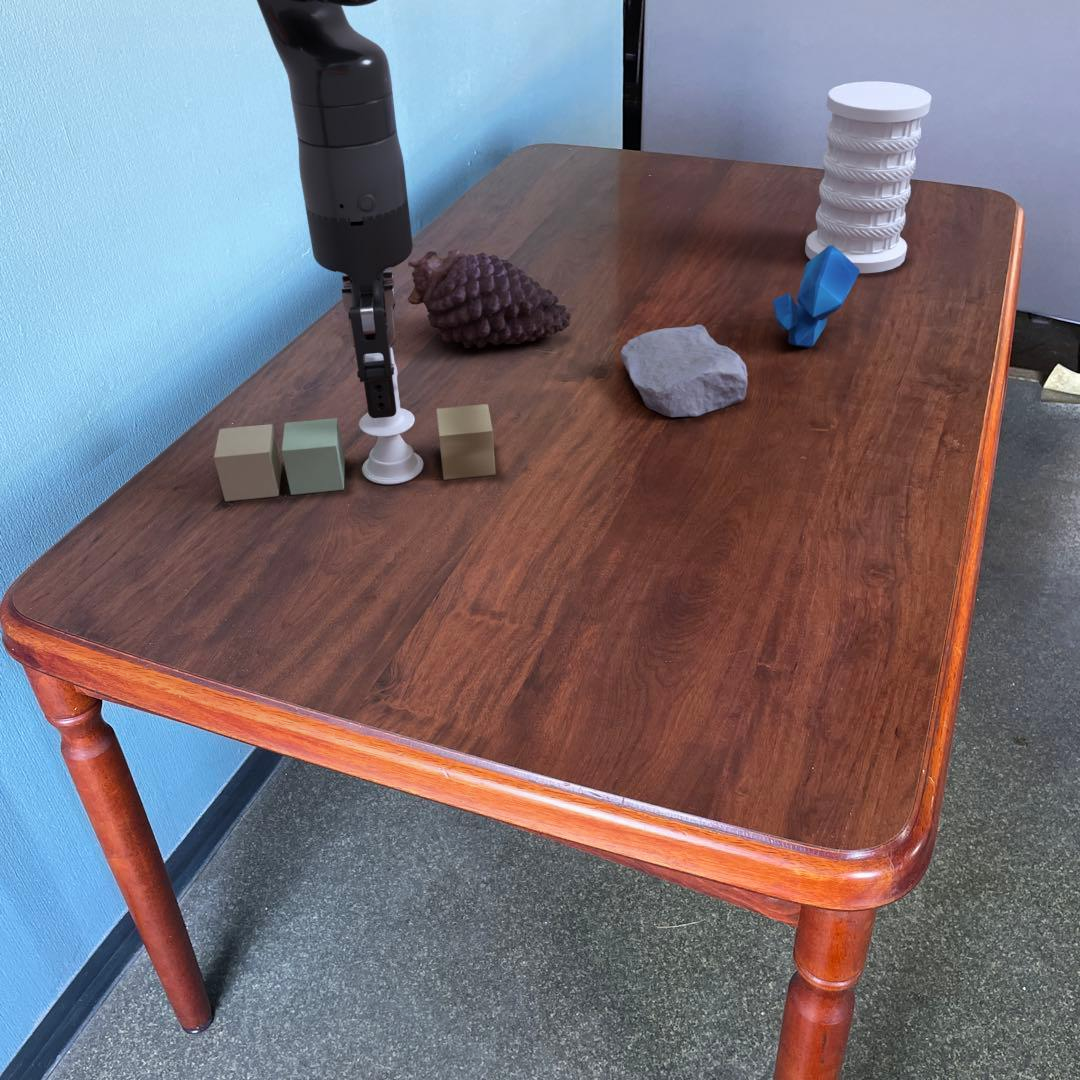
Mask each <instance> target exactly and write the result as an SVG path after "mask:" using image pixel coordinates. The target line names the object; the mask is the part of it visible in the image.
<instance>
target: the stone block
mask: <svg viewBox="0 0 1080 1080" xmlns="http://www.w3.org/2000/svg"><path fill="white" fill-rule="evenodd" d="M620 360H621V361H622V363H623V364H624V366H625V369H626V372H627V373H628V374H629V378H630V380H631V381H632V383H633V385H634V387H635V388H636V389H637V390H638V392H639V394H640V396H641V398H642V401H643V404H644V406H645V407H647V409H649V410H652V411H654V412H657V413H658V414H660V415H662V416H665V417H670V418H677V417H678V418H679V417H682V418H683V417H685V418H686V417H700V416H702V415H705V414H707V413H711V412H712V411H716V410H719V409H723V408H727V407H730V406H732V405H734V404H735V405H736V404H738V403H741V402H743V401H744V400H745V399H746V396H747V388H748V385H749V384H748V376H749V373H748V371H747V365H746V363H745V362H744V360H742V357H741V356H740V354H738V353H737V352H736V351H734V350H732V349H731V348H729V347H728V346H727V345H721V344H718V342H716V341H715V340H714V339H713V338H712V337H711V336H710V335H709V333H708V330H707V329H706V327H705V326H704V325H702V324H695V325H691V326H686V327H679V326H678V327H677V326H676V327H671V328H669V327H665V328H661V329H654V330H652V331H646V332H644V333H642V334H640V335H638V336H635V337H634V338H632V339H628V341H627V343H626V344H624V345H623V346H622V347H621V351H620Z"/></svg>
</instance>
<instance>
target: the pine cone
mask: <svg viewBox="0 0 1080 1080" xmlns="http://www.w3.org/2000/svg"><path fill="white" fill-rule="evenodd" d="M438 256H439V255H438V253H437V251H433V250H430V251H427V252H426V253H425V254H424V255H423V256H422V257H421V258H420V259H418V260H410V261H408V262H407V266H408V267H412V268H413V271H412V273H411V276H412V278H413V280H412V282H413V283H414V287H413V289H412V291H411V293H410V294H409V296H408V297H407V301H408V303H409V304H411V305H416V306H417V305H421V304H424V306H425V308H426V311H427V313H428V314H427V319H428V320H429V324H430V326H431V327H432V328H434V329H437V333H438V335H440V336H441V338H442V341H443V342H446V343H453V342H455V343H456V344H463V346H464V348H469V349H470V348H472V347H473V346H476V347H477V348H479V349H481V348H484V347H485V346H486V345H487V344H488V342H489V343H491V344H492V345H494V346H497V345H501V344H506V345H511V344H513V345H516V346H517V345H519V344H521V343H525V342H535V341H536V340H537V339H544V338H546V337H547V336H553V335H556V334H557V333H559V332H563V331H564V330H566V328H567V327H570V324H571V322H570V321H571V318H572V315H571V313H569V312H566V311H567V307H566V305H562V304H558V303H559V298H558V296H557V295H556V294H554V293H553V292H552V290H551V289H545V288H543V287H541V285H540V283H539V282H538V281H535V279H534V278H532V277H530V276H528V275H527V274H526V273H525V271H524V270H523V269H521V268H518V267H517V266H515V265H514V264H513V263H511V262H510V261H509V259H502V258H500V257H499V256H498V255H496V254H492V255H488V254H487V253H485V252H480V253H478V254H472V253H468V254H467V255H466V254H464V253H463V252H461V251H460V250H458V249H452V250H451V249H450V250H449V251H447V257H445V258H441V257H438Z"/></svg>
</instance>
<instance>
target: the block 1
mask: <svg viewBox="0 0 1080 1080" xmlns="http://www.w3.org/2000/svg"><path fill="white" fill-rule="evenodd" d="M213 454H214V455H213V459H214V464H215V467H216V471H217V475H218V479H219V483H220V488H221V491H222V494H223V499H224V501H225V502H232V501H233V502H234V501H235V502H236V501H243V500H255V499H264V498H272V497H273V498H275V497H279V496H280V489H281V488H280V487H281V481H282V480H281V478H282V471H283V466H282V461H281V457H280V452H279V446H278V442H277V437H276V433H275V428H274V424H273V423H268V424H267V423H266V424H257V425H247V426H237V427H226V428H219V430H218V435H217V440H216V444H215V449H214V453H213Z"/></svg>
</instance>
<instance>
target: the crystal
mask: <svg viewBox="0 0 1080 1080" xmlns="http://www.w3.org/2000/svg"><path fill="white" fill-rule="evenodd" d="M860 274H861V273H860V272H859V268H858V267H856V266H855V265H854V264H853V263H852V262H851V261H850V260H849V259H848V258H847V257H846V256H845V255H844V254H843V253H842V252H841V251H840V250H838V249H837V248H836V247H834V246H832V245H829V246H828V247H827V248H825V249H824V250H823V251H822V252H820V253H819V254H818V255H817V256H815V257H814V258H813V259H812V260H810V259H809V260H808V262H806V264H805V267H804V270H803V275H802V279H801V282H800V286H799V290H798V294H797V297H796V302H797V303H796V302H795V300H794V297H793V296H792V294H791V293H785V294H783V295H780V296H779V297H776V298H775V299H773V300H772V306H773V310H774V314H775V319H776V321H777V323H778V325H779V327H780V329H781V331H784V332H785V331H788V337H787V338H788V339H787V342H788V344H789V346H796V347H802V348H807V349H810V348H812V347H813V346H814V345H815V344H816V342H817V340H818V339H819V337H820V335H821V334H822V332H823V331H824V329H825V328H826V326H827V323H828V317H829V316H831V315H832V314H833V313H835V312H836V311H838V310H839V309H840V308H842V306H843V305H844V303H845V301H846V299H847V296H848V295H849V294H850V291H851V290H852V287H853V286H854V284H855V282H856V280H857V278H858V276H859V275H860Z"/></svg>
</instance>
